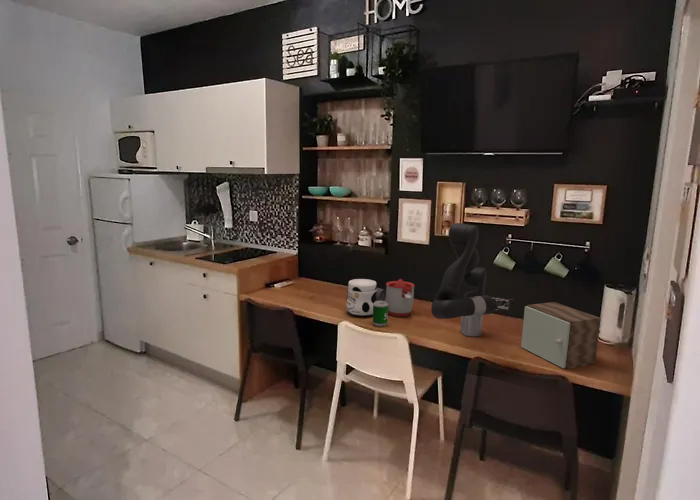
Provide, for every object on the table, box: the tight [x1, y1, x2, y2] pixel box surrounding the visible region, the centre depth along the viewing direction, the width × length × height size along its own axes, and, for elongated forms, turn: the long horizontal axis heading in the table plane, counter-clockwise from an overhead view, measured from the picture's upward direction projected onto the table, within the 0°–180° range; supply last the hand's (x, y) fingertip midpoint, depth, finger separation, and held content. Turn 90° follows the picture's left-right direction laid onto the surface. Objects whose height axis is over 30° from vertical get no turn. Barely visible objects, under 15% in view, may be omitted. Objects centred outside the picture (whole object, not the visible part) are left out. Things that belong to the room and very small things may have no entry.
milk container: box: [345, 278, 378, 317], centre depth 242 cm, size 17×17×18 cm
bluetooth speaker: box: [347, 287, 386, 301], centre depth 265 cm, size 23×9×10 cm, turn 55°
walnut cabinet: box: [526, 301, 602, 370], centre depth 190 cm, size 16×24×20 cm, turn 21°
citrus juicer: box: [385, 278, 416, 318], centre depth 242 cm, size 16×17×20 cm
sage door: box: [520, 305, 570, 369], centre depth 187 cm, size 3×24×19 cm, turn 21°
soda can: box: [372, 300, 389, 327], centre depth 225 cm, size 8×8×12 cm
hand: (513, 301), depth 181 cm, fingers closed
